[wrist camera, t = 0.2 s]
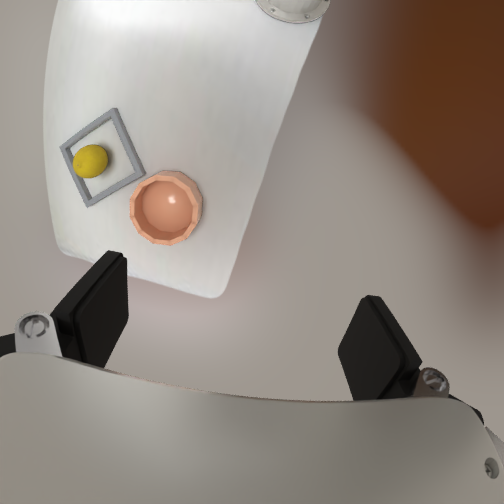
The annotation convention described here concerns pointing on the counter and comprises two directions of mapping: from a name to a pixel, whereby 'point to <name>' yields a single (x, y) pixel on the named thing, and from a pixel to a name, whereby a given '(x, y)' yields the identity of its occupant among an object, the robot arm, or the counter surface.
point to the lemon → (90, 161)
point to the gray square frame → (128, 148)
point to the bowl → (166, 207)
